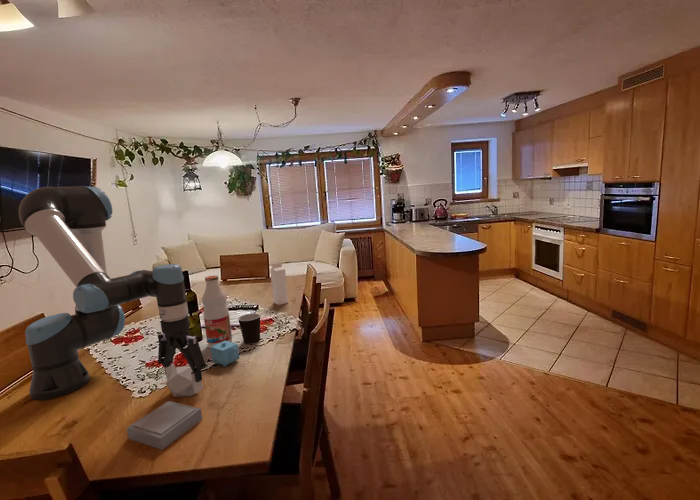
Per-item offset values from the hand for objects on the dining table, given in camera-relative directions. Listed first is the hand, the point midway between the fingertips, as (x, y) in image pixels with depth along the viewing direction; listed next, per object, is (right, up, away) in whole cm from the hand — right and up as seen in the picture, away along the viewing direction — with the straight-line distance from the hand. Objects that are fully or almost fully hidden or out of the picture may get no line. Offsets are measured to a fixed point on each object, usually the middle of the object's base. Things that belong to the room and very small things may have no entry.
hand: (185, 388), depth 106 cm
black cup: (+10, +5, +39) cm, 41 cm away
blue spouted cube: (+6, +1, +19) cm, 20 cm away
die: (0, -2, 0) cm, 2 cm away
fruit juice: (-3, +3, +36) cm, 36 cm away
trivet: (+3, -4, -16) cm, 17 cm away
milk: (+12, +12, +88) cm, 90 cm away
